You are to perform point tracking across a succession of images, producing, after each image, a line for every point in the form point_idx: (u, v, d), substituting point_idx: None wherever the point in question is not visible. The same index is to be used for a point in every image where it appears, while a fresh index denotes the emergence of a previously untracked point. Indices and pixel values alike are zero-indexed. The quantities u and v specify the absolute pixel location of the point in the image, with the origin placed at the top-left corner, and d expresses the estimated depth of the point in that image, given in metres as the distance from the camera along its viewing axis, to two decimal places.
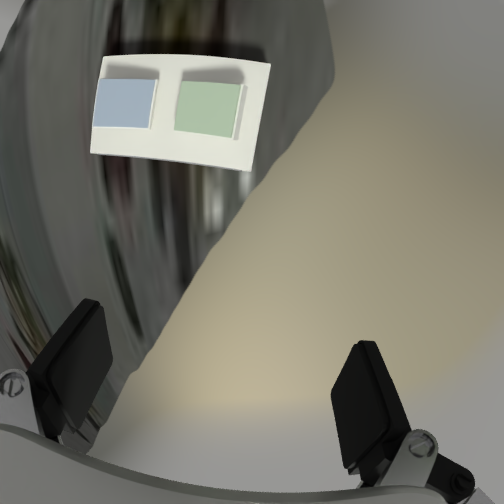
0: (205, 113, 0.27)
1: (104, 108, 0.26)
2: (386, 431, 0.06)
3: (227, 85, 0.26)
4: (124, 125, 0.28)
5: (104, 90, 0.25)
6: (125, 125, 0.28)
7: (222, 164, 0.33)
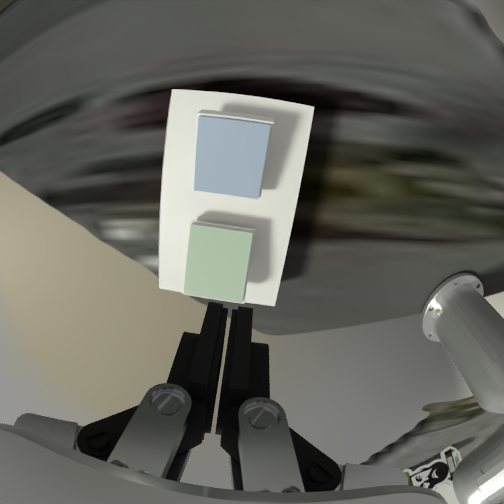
0: (209, 264, 0.27)
1: (223, 133, 0.21)
2: (226, 391, 0.07)
3: (242, 289, 0.27)
4: (197, 160, 0.23)
5: (251, 133, 0.21)
6: (197, 162, 0.23)
7: (161, 262, 0.30)
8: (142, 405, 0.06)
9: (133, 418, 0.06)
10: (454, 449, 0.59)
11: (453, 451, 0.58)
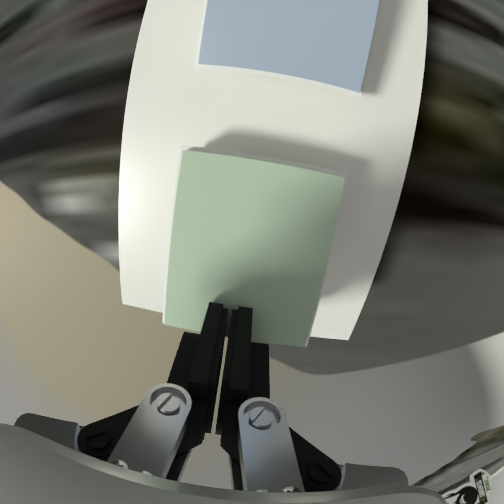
0: (229, 257, 0.10)
1: None
2: (226, 391, 0.07)
3: (308, 318, 0.11)
4: None
5: None
6: None
7: (124, 250, 0.14)
8: (142, 405, 0.06)
9: (133, 418, 0.06)
10: (484, 472, 0.42)
11: (483, 474, 0.42)
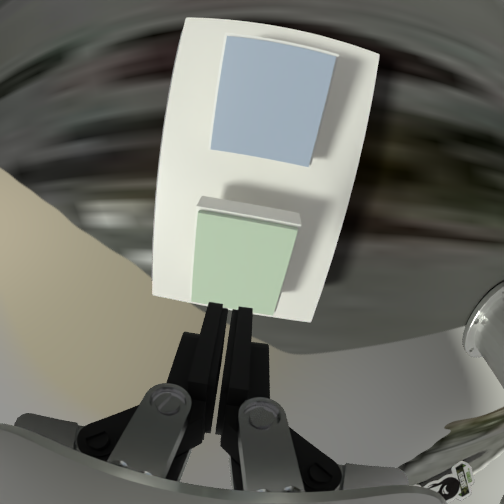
0: (228, 269, 0.18)
1: (264, 62, 0.12)
2: (226, 391, 0.07)
3: (274, 301, 0.19)
4: (220, 103, 0.14)
5: (306, 65, 0.12)
6: (219, 105, 0.14)
7: (156, 258, 0.21)
8: (142, 405, 0.06)
9: (133, 418, 0.06)
10: (466, 464, 0.50)
11: (465, 466, 0.50)
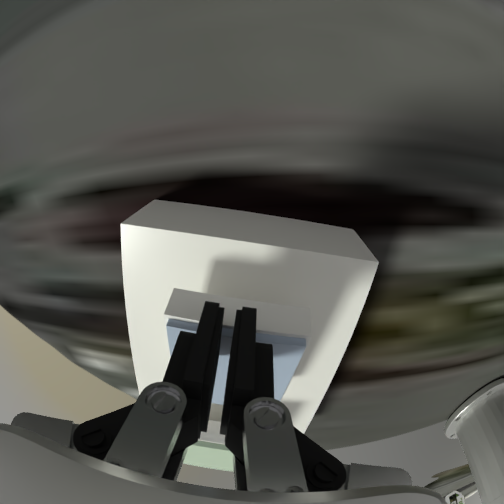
0: (208, 459, 0.17)
1: None
2: (231, 391, 0.07)
3: None
4: None
5: None
6: None
7: None
8: (138, 404, 0.06)
9: (129, 417, 0.06)
10: (459, 494, 0.47)
11: (458, 496, 0.47)
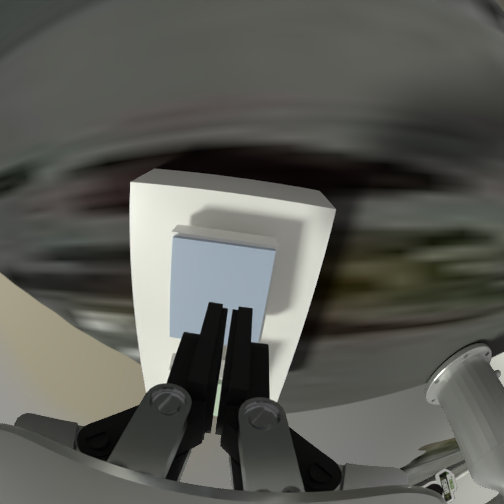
0: None
1: (208, 263, 0.16)
2: (226, 391, 0.07)
3: None
4: (173, 299, 0.17)
5: (248, 263, 0.16)
6: (172, 302, 0.17)
7: (145, 374, 0.24)
8: (142, 405, 0.06)
9: (133, 418, 0.06)
10: (449, 472, 0.56)
11: (448, 474, 0.56)
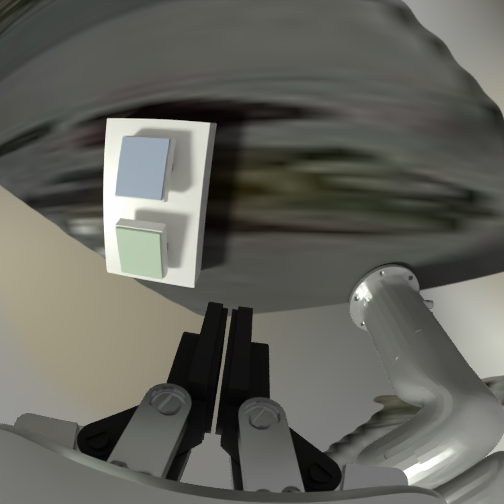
0: (134, 254, 0.33)
1: (137, 148, 0.28)
2: (226, 391, 0.07)
3: (160, 271, 0.34)
4: (119, 170, 0.29)
5: (156, 146, 0.28)
6: (118, 172, 0.29)
7: (107, 251, 0.37)
8: (142, 405, 0.06)
9: (133, 418, 0.06)
10: None
11: None
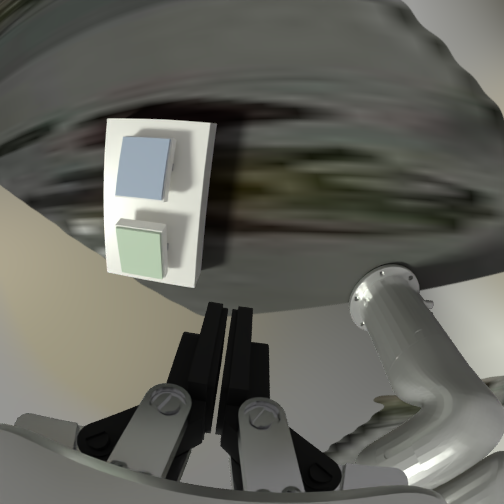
0: (134, 254, 0.33)
1: (138, 148, 0.28)
2: (226, 391, 0.07)
3: (160, 271, 0.34)
4: (119, 170, 0.29)
5: (156, 146, 0.28)
6: (119, 172, 0.29)
7: (107, 251, 0.37)
8: (142, 405, 0.06)
9: (133, 418, 0.06)
10: None
11: None
